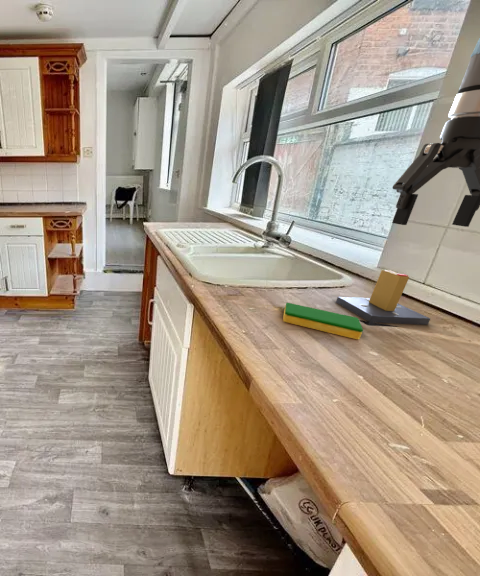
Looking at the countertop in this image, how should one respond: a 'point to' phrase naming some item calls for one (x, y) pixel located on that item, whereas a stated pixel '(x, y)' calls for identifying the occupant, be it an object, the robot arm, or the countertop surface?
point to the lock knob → (388, 290)
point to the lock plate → (381, 313)
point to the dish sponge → (323, 320)
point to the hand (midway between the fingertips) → (429, 225)
